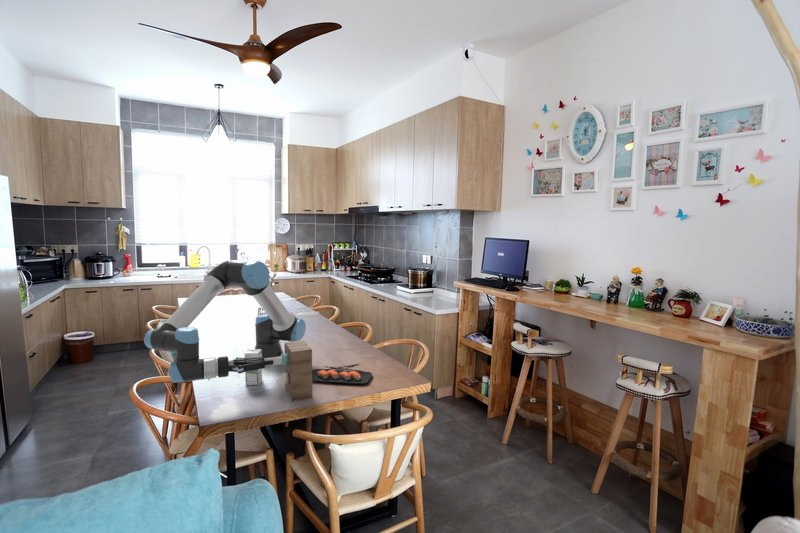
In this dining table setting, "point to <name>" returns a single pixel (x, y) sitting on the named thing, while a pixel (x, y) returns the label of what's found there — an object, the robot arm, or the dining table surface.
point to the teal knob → (285, 359)
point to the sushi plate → (341, 375)
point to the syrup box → (254, 375)
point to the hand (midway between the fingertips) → (281, 360)
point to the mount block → (299, 370)
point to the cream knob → (284, 378)
